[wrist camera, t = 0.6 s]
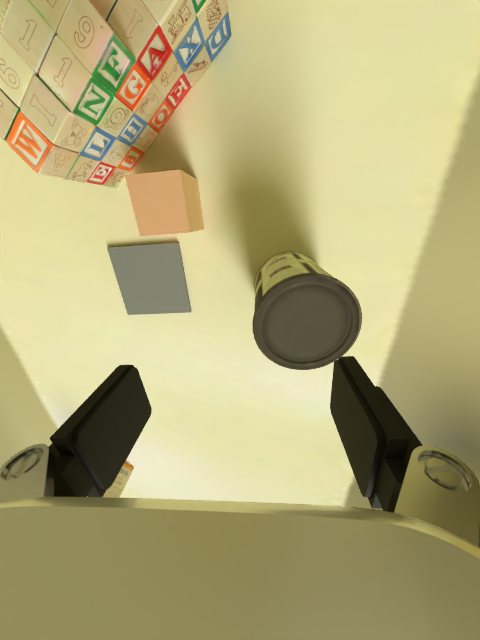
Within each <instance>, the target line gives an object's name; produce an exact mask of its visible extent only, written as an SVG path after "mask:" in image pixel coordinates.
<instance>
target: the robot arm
mask: <svg viewBox="0 0 480 640" xmlns="http://www.w3.org/2000/svg"><path fill="white" fill-rule="evenodd" d="M330 409H331V414H332V416H333V419H334V422H335V424H336V427H337V430H338V432H339V435H340V438H341V441H342V443H343V446H344V449H345V451H346V454H347V457H348V459H349V462H350V465H351V467H352V470H353V473H354V475H355V478H356V481H357V483H358V486H359V489H360V491H361V494H362V495H363V496H364V497H368V499H369V502H370V504H371V507H372V508H382V509H383V511H382V510H374V509H365V508H356V507H341V506H324V505H307V504H283V503H258V502H233V501H204V500H175V499H143V498H107V497H103V496H104V494H105V492H106V490H107V489H109V488H110V487H111V486H112V484H113V483H114V481H115V479H116V477H117V475H118V473H119V472H120V470H121V468H122V466H123V464H124V463H125V461H126V459H127V457H128V455H129V454H130V452H131V450H132V448H133V446H134V444H135V443H136V441H137V439H138V437H139V435H140V434H141V432H142V430H143V428H144V426H145V425H146V423H147V421H148V419H149V417H150V415H151V406H150V403H149V400H148V397H147V395H146V392H145V389H144V386H143V383H142V380H141V378H140V375H139V372H138V370H137V368H135V367H134V366H133V365H120V366H118V367H117V368H116V369H115V370H114V371H113V372H112V373H111V374H110V375H109V377H108V378H107V379H106V380H105V381H104V382H103V383H102V384H101V385H100V386H99V387H98V388H97V389H96V390H95V391H94V392H93V393H92V394H91V395H90V396H89V397H88V399H87V400H86V401H85V402H84V403H83V404H82V405H81V406H80V407H79V408H78V409H77V410H76V411H75V412H74V413H73V414H72V415H71V416H70V417H69V418H68V419H67V421H66V422H65V423H64V424H63V425H62V426H61V427H60V428H59V429H58V430H57V431H56V432H55V433H54V434H53V435H52V436H51V437H50V440H51V441H52V444H51V445H50V446H49V447H48V446H47V445H46V444H37V445H33V446H30V447H28V448H26V449H24V450H22V451H20V452H18V453H17V454H15V455H14V456H13V457H11V458H10V459H9V460H8V461H7V462H5V463H4V464H3V465H2V467H1V468H0V640H480V484H479V480H478V478H477V477H476V475H475V473H474V472H473V471H472V470H471V469H470V468H469V467H468V466H467V464H466V463H464V462H463V461H462V460H460V459H459V458H458V457H457V456H455V455H453V454H451V453H449V452H448V451H446V450H443V449H440V448H437V447H433V446H423V445H422V444H421V443H420V441H419V440H418V438H417V437H416V436H415V434H414V433H413V432H412V430H411V429H410V427H409V426H408V425H407V423H406V422H405V420H404V419H403V418H402V416H401V415H400V413H399V412H398V411H397V409H396V408H395V407H394V405H393V404H392V402H391V401H390V400H389V398H388V397H387V396H386V394H385V393H384V391H383V390H382V389H381V388H380V387H378V386H374V385H373V383H372V382H371V380H370V379H369V377H368V376H367V375H366V373H365V372H364V370H363V369H362V367H361V366H360V364H359V363H358V362H357V360H356V359H355V357H353V356H348V357H339V359H338V360H335V361H334V370H333V381H332V392H331V403H330ZM87 496H88V497H87Z"/></svg>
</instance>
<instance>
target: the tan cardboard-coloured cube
mask: <svg viewBox="0 0 480 640" xmlns="http://www.w3.org/2000/svg"><path fill="white" fill-rule="evenodd" d="M125 177H126V181H127V185H128V189H129V193H130V197H131V201H132V205H133V209H134V213H135V217H136V221H137V225H138V229H139V233H140V236H148V235H161V234H174V233H187V232H193V231H198V230H202V229H204V226H203V218H202V210H201V203H200V195H199V188H198V180H197V179H195V178H194V177H192V176H190V175H189V174H187V173H185V172H184V171H182V170H170V171H161V172H152V173H142V174H133V175H125Z"/></svg>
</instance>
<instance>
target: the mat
mask: <svg viewBox="0 0 480 640" xmlns="http://www.w3.org/2000/svg"><path fill="white" fill-rule="evenodd" d="M107 249H108V252H109V255H110V259H111V262H112V265H113V268H114V271H115V275H116V278H117V281H118V284H119V287H120V291H121V294H122V297H123V300H124V303H125V307H126V310H127V313H128V315H134V314H159V313H185V312H191V307H190V301H189V296H188V290H187V285H186V279H185V273H184V268H183V262H182V257H181V251H180V246H179V242H175V243H161V244H148V245H134V246H120V247H108V248H107Z"/></svg>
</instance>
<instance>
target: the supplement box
mask: <svg viewBox="0 0 480 640" xmlns="http://www.w3.org/2000/svg"><path fill="white" fill-rule="evenodd" d="M133 469H134V467H132V466H130V465H128V464H127V463H124V464H123V466H122V468H121V470H120V472H119V473H118V475H117V477H116V479H115V481H114V483H113V484H112V486H111V487H110V488H109V489H107V490H106V492H105V494H104V496H103V497H107V498H119V497H120V495H121V493H122V491H123V489H124V487H125V485H126V483H127V481H128V479H129V477H130V475H131V473H132V471H133Z"/></svg>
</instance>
